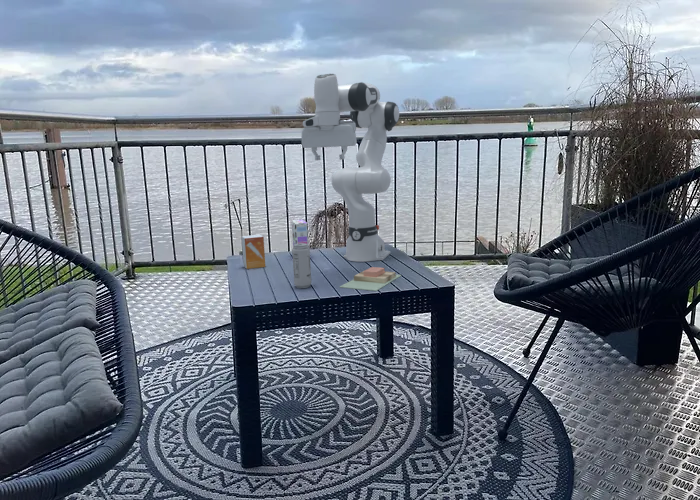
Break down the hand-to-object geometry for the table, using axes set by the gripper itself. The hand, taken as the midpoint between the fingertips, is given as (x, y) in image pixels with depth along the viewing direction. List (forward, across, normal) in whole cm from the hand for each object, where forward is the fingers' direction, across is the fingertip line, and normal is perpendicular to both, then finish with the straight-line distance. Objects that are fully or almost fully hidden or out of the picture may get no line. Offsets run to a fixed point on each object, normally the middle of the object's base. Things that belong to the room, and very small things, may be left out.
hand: (329, 159), depth 189 cm
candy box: (+44, +26, -28) cm, 58 cm away
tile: (+41, -17, +5) cm, 45 cm away
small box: (+44, +39, -8) cm, 59 cm away
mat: (+43, -16, +8) cm, 47 cm away
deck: (+43, -17, +5) cm, 46 cm away
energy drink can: (+43, +6, +18) cm, 47 cm away
